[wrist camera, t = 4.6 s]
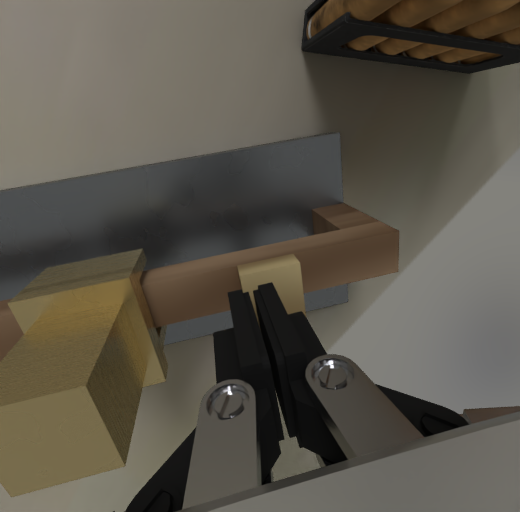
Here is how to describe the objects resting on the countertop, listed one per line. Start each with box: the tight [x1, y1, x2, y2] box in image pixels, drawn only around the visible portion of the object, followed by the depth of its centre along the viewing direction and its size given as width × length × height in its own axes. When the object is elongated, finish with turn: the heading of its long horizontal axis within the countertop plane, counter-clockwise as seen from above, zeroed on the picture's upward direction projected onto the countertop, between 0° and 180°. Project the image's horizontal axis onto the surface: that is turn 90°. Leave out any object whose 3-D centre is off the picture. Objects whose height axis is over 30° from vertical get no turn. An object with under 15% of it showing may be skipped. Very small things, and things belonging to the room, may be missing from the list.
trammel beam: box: [0, 203, 399, 362], centre depth 15 cm, size 4×30×7 cm, turn 99°
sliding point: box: [0, 248, 168, 497], centre depth 13 cm, size 5×4×11 cm
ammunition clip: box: [301, 0, 520, 73], centre depth 12 cm, size 11×2×12 cm, turn 86°
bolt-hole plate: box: [0, 133, 348, 345], centre depth 19 cm, size 11×30×1 cm, turn 99°
